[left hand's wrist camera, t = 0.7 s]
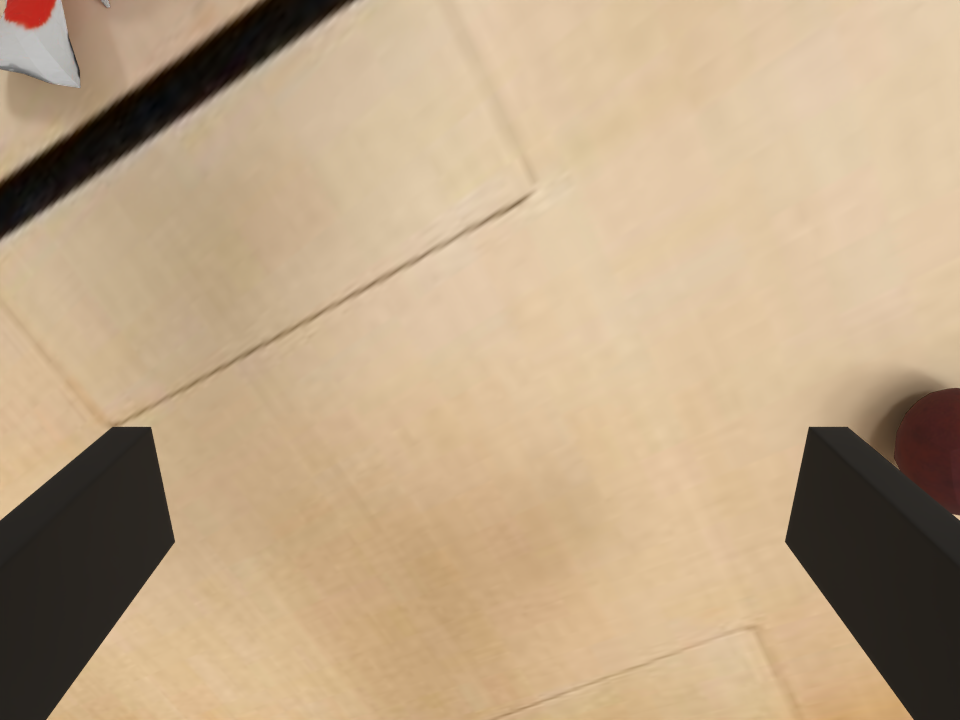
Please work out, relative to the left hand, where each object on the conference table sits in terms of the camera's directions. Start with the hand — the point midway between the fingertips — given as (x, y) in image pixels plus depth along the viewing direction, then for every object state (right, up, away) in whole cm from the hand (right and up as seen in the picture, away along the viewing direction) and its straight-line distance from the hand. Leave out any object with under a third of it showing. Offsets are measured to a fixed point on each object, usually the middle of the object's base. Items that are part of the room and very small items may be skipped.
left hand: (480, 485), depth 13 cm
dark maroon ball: (+30, -2, +29) cm, 41 cm away
